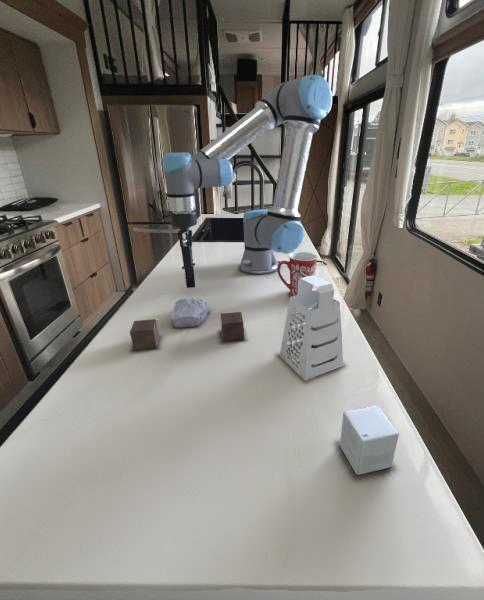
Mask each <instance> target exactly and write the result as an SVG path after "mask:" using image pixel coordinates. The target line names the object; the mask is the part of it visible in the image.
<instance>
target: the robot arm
mask: <svg viewBox="0 0 484 600" xmlns="http://www.w3.org/2000/svg"><path fill="white" fill-rule="evenodd" d="M332 105H333V94H332V89H331V88H330V85H329V82H328V81H327V80H326V79H325V78H324V77H323V76H322V75H319V74H311V75H310V74H306V75H304V76H302V77H299V78H293V79H290V80H287V81H283V82H281V83H280V84H278V85H277V86H275V87H274V88H273V89H272V90H270V91H269V92H268V93H266V94H265V95H264V96H263V97H262V98H260V99H259V100H258V101H257V102H255V104H254V108H253V109H252V110H251V111H249V112H248V113H247V114H245V115H244V116H242V117H241V118H240V119H239V120H237V121H236V122H235V123H233V124H232V125H231V126H230V127H228V128H227V129H225V130H224V132H222V133H221V134H219V135H218V136H217V137H216V138H214V139H212V141H211V142H209V143H208V144H207V145H205V146H204V147H203V148H201V149H200V150H199V151H198V152H196V153H195V154H193V155H191V154H190V153H189V152H186V151H185V152H165V153H164V154H163V157H162V164H163V165H162V168H163V174H164V181H165V188H166V195H167V199H166V200H165V203H166V204H168V210H169V211H170V213H169V220H170V225H171V226H172V227H173V228H179V230H178V231H177V238H178V240H179V247H180V251H181V257H182V258H181V259H182V264H183V266H181V269H182V270H184V276H185V285H186V288H187V289H193V288H196V277H195V268H194V267H195V266H196V263H195V262H194V258H193V248H192V247H193V230H192V229H190V227H194V226H196V225H197V224H198V218H197V212H196V211H195V210H196V209H197V207H196V205H197V204H196V197H195V189H203V188H204V189H205V188H221V187H227V186H229V185H231V184H232V181H233V177H234V172H233V171H234V170H233V166H232V163H231V162H230V161H229V160H230V159H232V158H233V157H235V155H237V154H238V153H240V152H241V151H242V150H243V149H245V148H246V147H247V146H248V145H250V144H251V143H252V142H253V141H255V140H256V139H257V138H259V136H261V135H262V134H263V133H265V132H266V131H272V130H273V129H275V128H276V127H278V126H279V125H282V124H283V126H284V128H285V130H286V131H285V137H284V142H283V147H282V153H281V159H280V164H279V170H278V175H277V180H276V187H275V192H274V197H273V203H272V206H271V207H270V208H263V209H262V208H261V209H252V210H247V211H245V212H244V213H243V218H242V219H243V220H242V223H243V243H244V244H243V245H244V250H243V254H242V258H241V261H240V270H241V271H243V272H245V273H247V274H253V275H265V274H271V273H275V271H277V267H278V264H279V262H281V261H279V260H278V257H277V254H276V253H280V254H285V255H286V254H291V253H294V252H295V250H296V249H298V248H299V247H300V245H301V243H302V242H303V239H304V237H305V236H304V235H305V230H304V228H303V226H302V224H301V223H300V221H301V214H300V212H299V210H298V209H299V205H300V199H301V194H302V190H303V184H304V179H305V174H306V170H307V164H308V160H309V155H310V150H311V145H312V140H313V135H314V134H315V133H316V132H317V131H319V129H320V125H321V120H323V119H324V118H326V116H327V115H328V114H329V113H330V111H331V109H332ZM322 262H323V263H322ZM316 263H321V264H322V265H324V266H328V264H327V263H326V262H325V261H323V260H317V261H316ZM285 265H286V266H287V264H285Z"/></svg>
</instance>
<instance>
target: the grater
mask: <svg viewBox="0 0 484 600" xmlns="http://www.w3.org/2000/svg"><path fill="white" fill-rule="evenodd" d="M312 285H313V287H315V288H316V289H315V290H313V291H311V287H312ZM334 295H335V288H334V286H333V284H332V283H331V282H330V281H328V280H326V279H324V278H322V277H320V276H318V275H316V274H315V275H312V276H308V277H303V278H300V279H299V281H298V295H295V296H291V295H290V298H289V302H288V308H287V311H286V318H285V324H284V329H283V334H282V340H281V345H280V351H279V357H281V358H282V359H283V361H285V362H286V363H287V364H288V365H289V367H291V368H292V370H294V371H295V373H297V374H298V375H299V376H300V378H302V379H303V380H304V381H309V380H310V379H314V378H316V377H318V376H321V375H323V374H326V373H329V372H332V371H334V370H337V369H339V368H341V367H344V352H343V350H344V349H343V335H342V334H343V333H342V318H341V317H342V316H341V303H340V301H338V300H337V299H335V298H334ZM304 323H305V324H304ZM312 346H318V347H316V348H313V347H312ZM332 359H334V360H332ZM329 360H332V361H329ZM327 361H329V362H327ZM298 362H299V363H298ZM324 362H327V363H324ZM321 363H324V364H321ZM318 364H321V365H318ZM312 365H315V366H316V365H318V366H316V367H312Z"/></svg>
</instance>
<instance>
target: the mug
mask: <svg viewBox="0 0 484 600" xmlns="http://www.w3.org/2000/svg"><path fill="white" fill-rule="evenodd" d="M288 258H289V261H288V260H281V261H280V262H279V263H278V267H277V270H276V271H277V275H278V277H279V278H280V280H281V282H282V283H283V284H284V285H285V286H286V288H287V289H288V290H289V292H290V293H289V294H290V297H291V296H295V295H298V281H299V279H300V278H303V277H308V276H312V275H316V269H317V268H316V267H317V262H316V261H318V258H319V257H318V254H316V253H314V252H309V251H296V252H295V251H293V252H291V253H289V255H288ZM286 264H287V265H286ZM283 265H286V266H287V267H288V270H289V283H288V282H287V281H286V280H285V278H284V277H283V275H282V274H281V267H282V266H283ZM311 291H314V285H312V287H311Z"/></svg>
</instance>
